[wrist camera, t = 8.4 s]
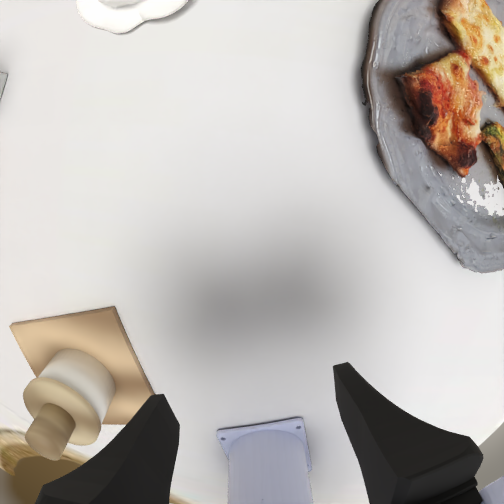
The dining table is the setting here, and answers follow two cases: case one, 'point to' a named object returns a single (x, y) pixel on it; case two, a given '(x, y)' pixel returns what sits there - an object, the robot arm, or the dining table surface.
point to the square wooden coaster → (95, 344)
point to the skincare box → (2, 81)
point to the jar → (83, 377)
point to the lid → (58, 417)
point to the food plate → (441, 113)
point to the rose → (124, 12)
